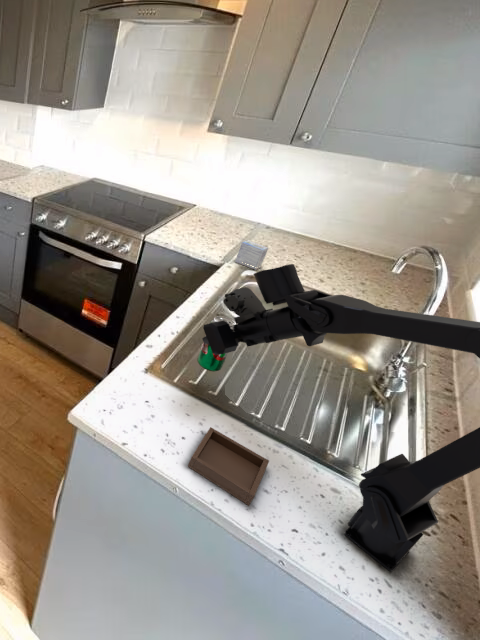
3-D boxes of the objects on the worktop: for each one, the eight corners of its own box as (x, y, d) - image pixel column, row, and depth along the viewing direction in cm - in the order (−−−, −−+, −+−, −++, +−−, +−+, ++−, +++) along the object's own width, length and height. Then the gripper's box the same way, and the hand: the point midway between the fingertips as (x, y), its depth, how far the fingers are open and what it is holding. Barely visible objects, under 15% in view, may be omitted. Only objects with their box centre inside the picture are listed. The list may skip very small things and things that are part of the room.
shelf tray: (264, 469, 82) (269, 460, 81) (249, 505, 75) (254, 496, 74) (206, 435, 88) (210, 426, 87) (187, 466, 82) (191, 456, 80)
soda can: (197, 355, 100) (213, 312, 95) (221, 363, 98) (239, 320, 93) (195, 367, 96) (211, 322, 91) (220, 376, 94) (238, 331, 89)
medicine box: (260, 267, 163) (269, 247, 159) (255, 270, 161) (263, 249, 157) (239, 259, 169) (247, 239, 165) (234, 261, 167) (241, 241, 163)
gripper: (292, 278, 87) (228, 297, 101) (226, 290, 80) (167, 309, 94) (316, 332, 84) (247, 344, 98) (250, 349, 77) (185, 360, 91)
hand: (212, 338), depth 95 cm, fingers closed on soda can, 5 cm apart
